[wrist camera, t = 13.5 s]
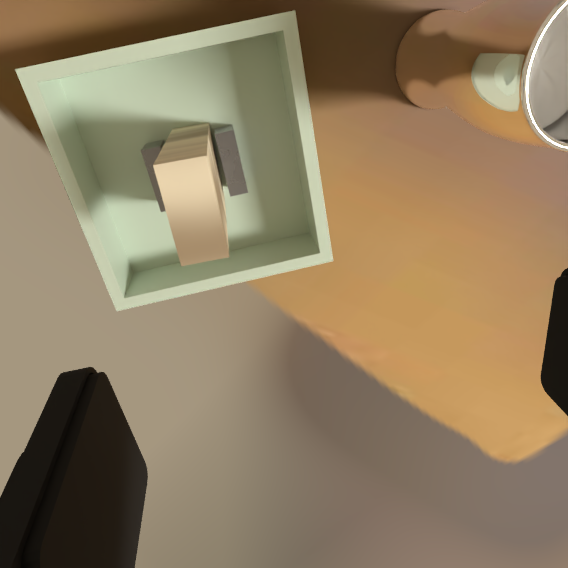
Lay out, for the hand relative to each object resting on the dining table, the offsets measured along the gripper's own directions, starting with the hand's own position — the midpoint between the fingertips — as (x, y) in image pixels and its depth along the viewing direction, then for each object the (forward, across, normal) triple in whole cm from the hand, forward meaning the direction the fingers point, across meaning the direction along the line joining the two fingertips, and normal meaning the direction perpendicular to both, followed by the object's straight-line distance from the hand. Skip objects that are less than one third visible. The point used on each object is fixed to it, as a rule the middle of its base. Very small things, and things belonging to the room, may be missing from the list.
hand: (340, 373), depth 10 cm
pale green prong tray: (+26, +4, +1) cm, 26 cm away
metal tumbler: (+26, -13, -3) cm, 29 cm away
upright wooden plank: (+25, +4, +1) cm, 25 cm away
